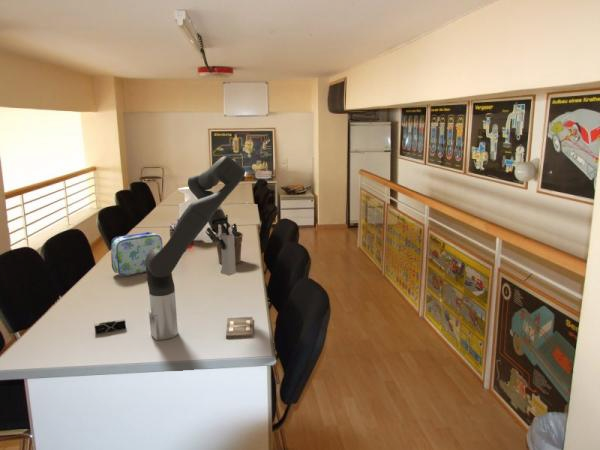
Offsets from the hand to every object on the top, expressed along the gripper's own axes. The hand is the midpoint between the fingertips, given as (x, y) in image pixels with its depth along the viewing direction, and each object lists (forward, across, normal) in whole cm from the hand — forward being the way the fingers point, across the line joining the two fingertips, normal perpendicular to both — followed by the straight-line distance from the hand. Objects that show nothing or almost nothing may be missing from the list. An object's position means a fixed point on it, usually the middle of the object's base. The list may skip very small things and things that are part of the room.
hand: (229, 247), depth 199 cm
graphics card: (+10, +45, -32) cm, 56 cm away
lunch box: (-37, +9, -79) cm, 88 cm away
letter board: (+30, +5, -10) cm, 33 cm away
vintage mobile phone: (+7, 0, -10) cm, 12 cm away
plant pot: (-25, -36, -67) cm, 80 cm away
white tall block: (-65, -45, -107) cm, 133 cm away
